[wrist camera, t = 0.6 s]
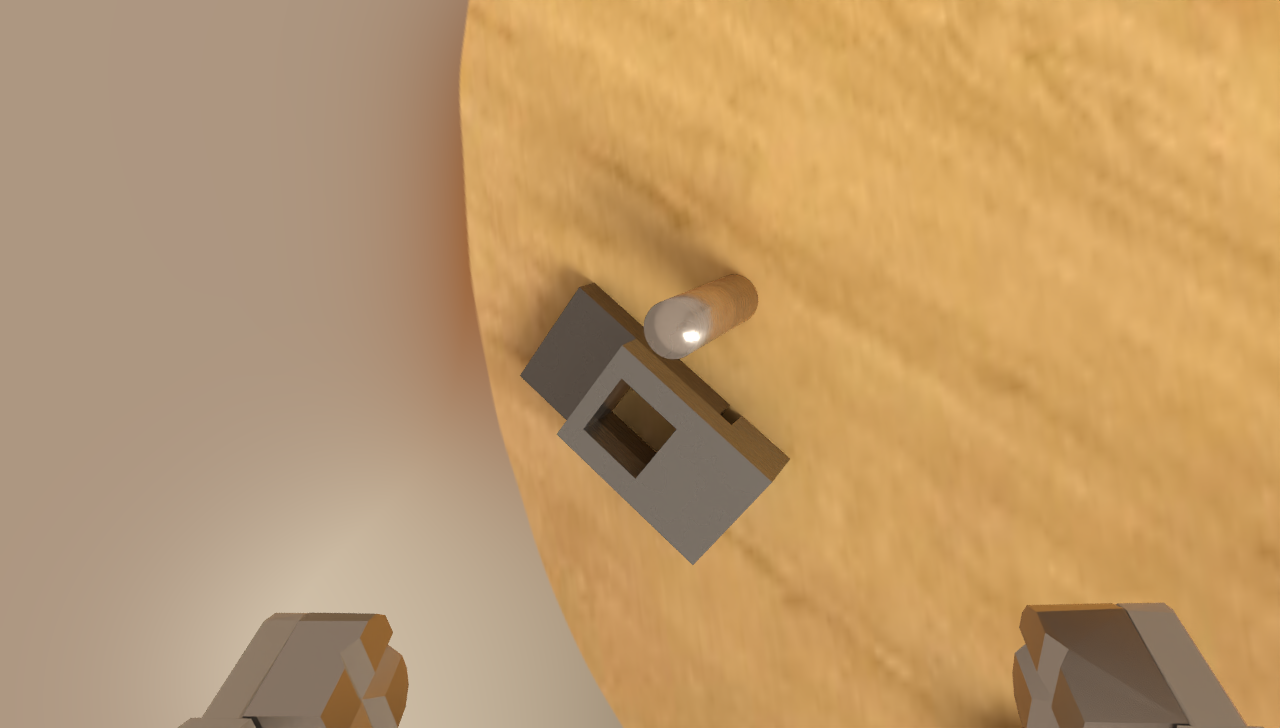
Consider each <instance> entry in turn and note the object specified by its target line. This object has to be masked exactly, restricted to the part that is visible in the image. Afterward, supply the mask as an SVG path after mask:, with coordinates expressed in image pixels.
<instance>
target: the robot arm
mask: <svg viewBox="0 0 1280 728" xmlns="http://www.w3.org/2000/svg"><path fill="white" fill-rule="evenodd" d="M1019 628H1020V630H1021V633H1022V635H1023V638H1024V641H1025V643H1026V644H1025V645H1024V646H1023V647H1021V648H1020V649H1019V650H1018V651H1017V652H1015V656H1014V664H1013V672H1012V673H1013V685H1014V696H1015V700H1016V704H1017V709H1018V713H1019V716H1020V719H1021V722H1022V725H1023V728H1264V727H1257V726H1247V724H1246V723H1245V721H1244V720H1243V718H1242V716H1241V715H1240V713H1239V712H1238V710H1237V709H1236V707H1235V706H1234V704H1233V702H1232V701H1231V699H1230V698H1229V696H1228V695H1227V693H1226V691H1225V690H1224V688H1223V687H1222V685H1221V684H1220V682H1219V681H1218V679H1217V677H1216V676H1215V674H1214V673H1213V671H1212V670H1211V668H1210V667H1209V665H1208V663H1207V662H1206V660H1205V659H1204V657H1203V656H1202V654H1201V653H1200V651H1199V649H1198V648H1197V646H1196V645H1195V643H1194V642H1193V640H1192V638H1191V637H1190V635H1189V634H1188V632H1187V631H1186V629H1185V628H1184V626H1183V624H1182V623H1181V621H1180V620H1179V618H1178V617H1177V615H1176V614H1175V612H1174V610H1173V609H1171V608H1170V607H1169V606H1167V605H1166V604H1165V603H1120V604H1112V603H1101V604H1057V605H1027V606H1026V607H1025V609H1024V610H1023V612H1022V616H1021V621H1020V626H1019ZM392 633H393V631H392V629H391V627H390V625H389V622H388V620H387V618H386V616H385V615H380V614H355V613H275V614H273V615H272V616H271V617H270V618H268V619H266V620H265V621H264V622H263V624H262V625H261V627H260V628H259V630H258V631H257V633H256V635H255V636H254V638H253V639H252V641H251V642H250V644H249V645H248V647H247V648H246V650H245V651H244V653H243V654H242V656H241V658H240V659H239V661H238V662H237V664H236V665H235V667H234V668H233V670H232V672H231V673H230V675H229V676H228V678H227V679H226V681H225V682H224V684H223V685H222V687H221V689H220V690H219V692H218V693H217V695H216V696H215V698H214V699H213V701H212V703H211V704H210V706H209V707H208V709H207V710H206V712H205V713H204V715H203V717H202V718H190V719H189V720H188V721H186V722H185V723H184V724H182V725H181V726H179V727H178V728H398V726H399V723H400V721H401V718H402V715H403V712H404V710H405V707H406V700H407V692H408V685H409V684H408V675H407V668H406V665H405V662H404V659H403V657H402V655H401V654H400V653H398V652H397V651H396V650H394V649H393V648H392V647H390V646H389V645H388V643H389V640H390V638H391V636H392Z"/></svg>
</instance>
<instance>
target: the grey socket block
mask: <svg viewBox="0 0 1280 728" xmlns="http://www.w3.org/2000/svg"><path fill="white" fill-rule="evenodd" d="M520 376H521V377H522V378H523V379H524V380H525V381H526V382H527V383H528V384H529V385H530V386H531V387H532V388H533V389H535V390H536V391H537V392H538V393H539V394H540V395H541V396H542V397H543V398H544V399H545V400H546V401H547V402H548V403H549V404H550V405H551V406H552V407H553V408H554V409H555V410H557V411H558V412H559V413H560V414H561V415H562V416H563V417H564V418H565V419H566V420H567V421H566V422H565V424H564V425H563V426H562V428H561V429H560V430H559V432H558V433H557V435H558V436H559V437H560V438H561V439H562V440H563V441H564V442H565V443H566V444H567V445H568V446H569V447H570V448H571V449H573V450H574V451H575V452H576V453H577V454H578V455H579V456H580V457H581V458H582V459H583V460H584V461H585V462H586V463H587V464H588V465H589V466H590V467H591V468H592V469H593V470H594V471H595V472H596V473H597V474H599V475H600V476H601V477H602V478H603V479H604V480H605V481H606V482H607V483H608V484H609V485H610V486H611V487H612V488H613V489H614V490H615V491H616V492H617V493H618V494H619V495H620V496H621V497H622V498H624V499H625V500H626V501H627V502H628V503H629V504H630V505H631V506H632V507H633V508H634V509H635V510H636V511H637V512H638V513H639V514H640V515H641V516H642V517H643V518H644V519H645V520H646V521H647V522H648V523H650V524H651V525H652V526H653V527H654V528H655V529H656V530H657V531H658V532H659V533H660V534H661V535H662V536H663V537H664V538H665V539H666V540H667V541H668V542H669V543H670V544H671V545H672V546H673V547H675V548H676V549H677V550H678V551H679V552H680V553H681V554H682V555H683V556H684V557H685V558H686V559H687V560H688V561H689V562H690V563H691V564H692V565H694V564H695V562H696V561H697V560H698V559H699V558H700V557H701V556H702V555H703V554H704V553H705V552H706V551H707V550H708V549H709V548H710V547H711V546H712V545H713V544H714V543H715V542H716V540H717V539H718V538H719V537H720V536H721V535H722V534H723V533H724V532H725V531H726V530H727V529H728V528H729V527H730V526H731V525H732V524H733V523H734V522H735V521H736V520H737V518H738V517H739V516H740V515H741V514H742V513H743V512H744V511H745V510H746V509H747V508H748V507H749V506H750V505H751V504H752V503H753V502H754V501H755V500H756V499H757V497H758V496H759V495H760V494H761V493H762V492H763V491H764V490H765V489H766V488H767V487H768V486H769V485H770V484H771V483H772V482H773V480H774V479H775V478H776V476H777V475H778V474H779V473H780V471H781V470H782V469H783V467H784V466H785V465H786V464H787V462H788V461H789V460H790V459H789V458H788V457H787V456H786V455H785V454H783V453H782V452H781V451H780V450H779V449H778V448H777V447H776V446H775V445H773V444H772V443H771V442H770V441H769V440H768V439H767V438H766V437H765V436H763V435H762V434H761V433H760V432H759V431H758V430H757V429H756V428H755V427H754V426H752V425H751V424H750V423H749V422H748V421H747V420H746V419H745V418H744V417H742V416H741V417H740V418H739V419H738V420H737V421H735V422H734V423H733V424H732V425H731V424H730V423H729V422H727V421H726V420H725V419H724V418H723V417H722V416H721V415H722V414H723V413H724V411H725V410H726V409H727V408H728V407H729V406H730V405H729V404H728V403H727V402H726V401H725V400H724V399H722V398H721V397H720V396H719V395H718V394H717V393H716V392H715V391H714V390H712V389H711V388H710V387H709V386H708V385H707V384H706V383H705V382H704V381H702V380H701V379H700V378H699V377H698V376H697V375H696V374H695V373H694V372H693V371H691V370H690V369H689V368H688V367H687V366H686V365H685V364H684V363H683V362H681V361H680V360H679V359H667V358H664V357H662V356H660V355H658V354H657V353H656V352H654V351H653V350H652V348H651V347H650V346H649V344H648V342H647V340H646V338H645V334H644V327H643V326H642V325H640V324H639V323H638V322H637V321H636V320H635V319H634V318H633V317H632V316H630V315H629V314H628V313H627V312H626V311H625V310H624V309H623V308H622V307H620V306H619V305H618V304H617V303H616V302H615V301H614V300H613V299H612V298H610V297H609V296H608V295H607V294H606V293H605V292H604V291H603V290H602V289H600V288H599V287H598V286H597V285H596V284H595V283H592V284H589V285H585V286H582V287H579V289H578V290H577V292H576V293H575V295H574V296H573V298H572V299H571V300H570V302H569V303H568V305H567V306H566V308H565V309H564V311H563V312H562V314H561V315H560V317H559V318H558V320H557V321H556V323H555V324H554V326H553V327H552V329H551V330H550V332H549V333H548V335H547V336H546V338H545V339H544V341H543V342H542V344H541V345H540V347H539V348H538V350H537V351H536V353H535V354H534V356H533V357H532V359H531V360H530V361H529V363H528V364H527V366H526V367H525V369H524V370H523V372H522V373H521V375H520ZM630 387H631V388H633V389H634V390H635V391H636V392H637V393H638V394H639V395H640V396H641V397H642V398H643V399H644V400H646V401H647V402H648V403H649V404H650V405H651V406H652V407H653V408H654V409H655V410H656V411H657V412H659V413H660V414H661V415H662V416H663V417H664V418H665V419H666V420H667V421H668V422H669V423H670V424H671V425H673V426H674V427H675V428H676V429H677V430H676V431H675V432H674V433H673V434H672V436H671V437H670V438H669V439H668V440H667V442H666V443H665V444H664V445H663V446H662V448H661V449H660V450H659V451H658V452H657V454H656V453H655V452H654V451H653V450H652V449H651V448H650V447H649V446H648V445H647V444H646V443H645V442H644V441H642V440H641V439H640V438H639V437H638V436H637V435H636V434H635V433H634V432H633V431H632V430H631V429H630V428H629V427H628V426H626V425H625V424H624V423H623V422H622V421H621V420H620V419H619V418H618V417H617V416H616V415H615V414H614V413H613V412H612V410H613V409H614V408H615V407H616V405H617V404H618V403H619V401H620V400H621V399H622V397H623V396H624V395H625V394H626V392H627V391H628V390H629V388H630Z"/></svg>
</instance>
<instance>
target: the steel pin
mask: <svg viewBox="0 0 1280 728" xmlns="http://www.w3.org/2000/svg"><path fill="white" fill-rule="evenodd" d="M757 305H758V294H757V291H756V289H755V287H754V285H753V284H752V283H751V282H750V281H749V280H748V279H747V278H745V277H743V276H740V275H728V276H725V277H722V278H720V279H717V280H715V281H712V282H710V283H707V284H705V285H702V286H700V287H697V288H694V289H692V290H689V291H687V292H684V293H682V294H679V295H677V296H674V297H672V298H669V299H667V300H664V301H662V302H659V303H657V304H656V305H654V306H653V307H652V308H651V309H650V310H649V312H648V313H647V315H646V318H645V321H644V334H645V338H646V340H647V342H648V344H649V346H650V347H651V348H652V350H653V351H654V352H656V353H657V354H658V355H660V356H662V357H664V358H667V359H679V358H683V357H685V356H687V355H688V354H690V353H692V352H693V351H695V350H697V349H699V348H700V347H702V346H704V345H705V344H707V343H709V342H711V341H712V340H714V339H716V338H717V337H719V336H721V335H722V334H724V333H726V332H728V331H729V330H731V329H733V328H734V327H736V326H738V325H740V324H741V323H743V322H745V321H746V320H748V319H749V318H751V317H752V315H753V314H754V313H755V311H756V309H757Z"/></svg>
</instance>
